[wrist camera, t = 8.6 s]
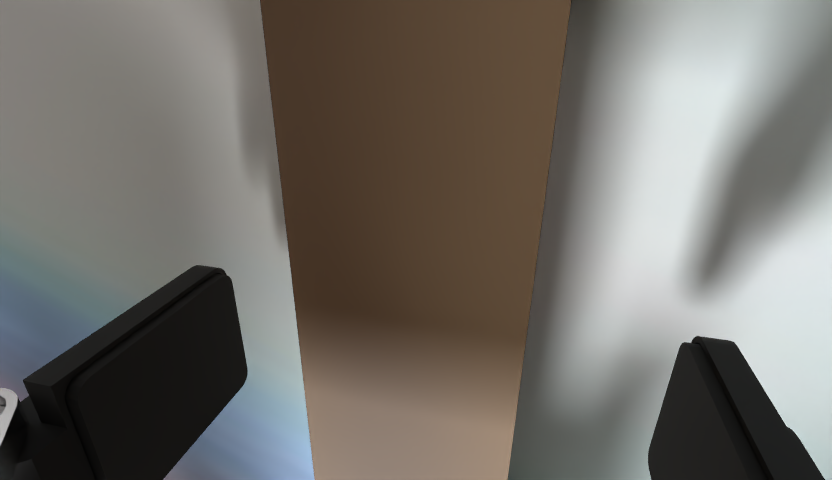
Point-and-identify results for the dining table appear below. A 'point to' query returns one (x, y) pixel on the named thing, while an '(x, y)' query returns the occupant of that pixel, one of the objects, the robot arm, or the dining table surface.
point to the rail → (413, 221)
